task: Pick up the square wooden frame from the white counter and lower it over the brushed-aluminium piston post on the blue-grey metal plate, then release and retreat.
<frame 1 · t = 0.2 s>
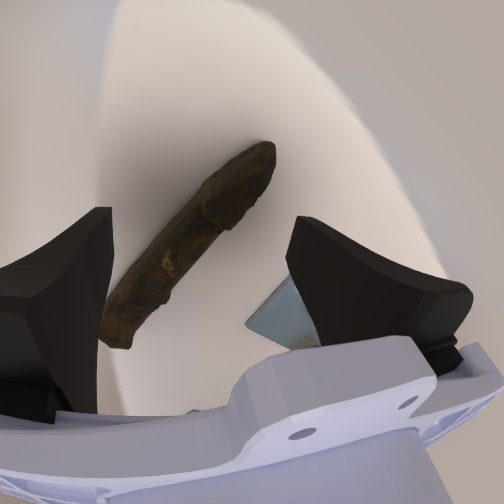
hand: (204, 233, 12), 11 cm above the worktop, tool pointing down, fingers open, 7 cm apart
piston plate: (317, 307, 29), on the worktop
dark brown long piece: (170, 231, 23), on the worktop
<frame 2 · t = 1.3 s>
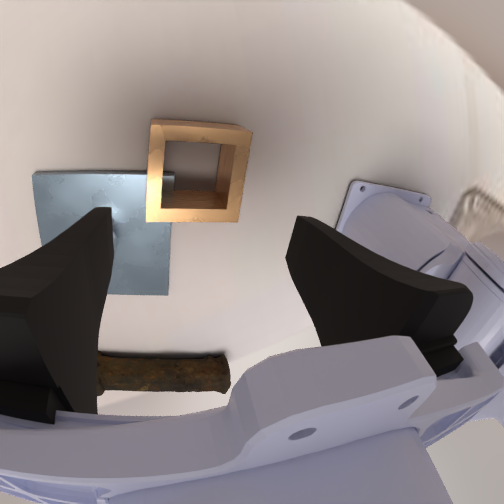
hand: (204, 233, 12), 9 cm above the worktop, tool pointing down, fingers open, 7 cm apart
piston plate: (103, 236, 20), on the worktop
square wooden frame: (189, 162, 19), on the worktop, tilted 6°, touching piston plate
dark brown long piece: (136, 360, 29), on the worktop
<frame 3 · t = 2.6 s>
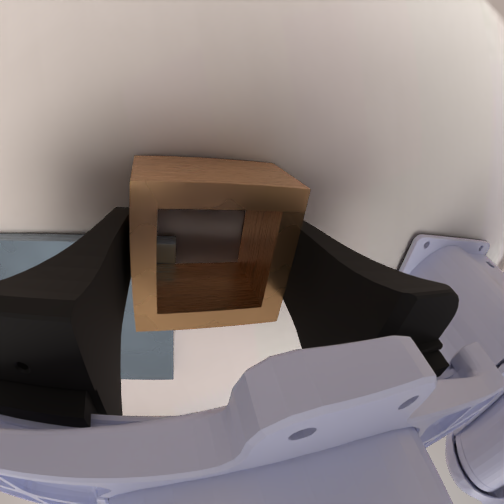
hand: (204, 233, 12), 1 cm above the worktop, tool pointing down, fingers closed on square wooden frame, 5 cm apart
piston plate: (81, 316, 14), on the worktop
square wooden frame: (199, 223, 12), on the worktop, tilted 6°, touching gripper, piston plate
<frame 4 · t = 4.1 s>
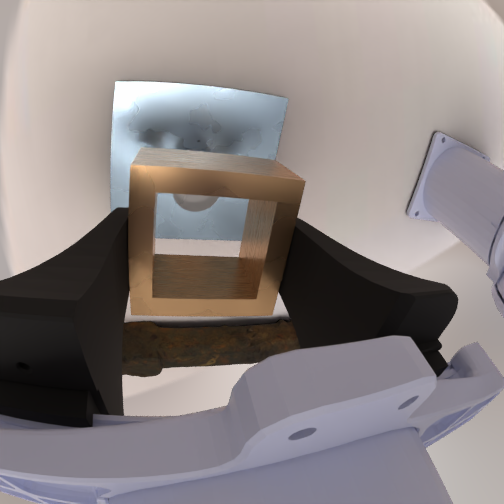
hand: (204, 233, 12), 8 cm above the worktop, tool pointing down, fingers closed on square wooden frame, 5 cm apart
piston plate: (192, 164, 18), on the worktop
square wooden frame: (201, 215, 13), point 7 cm above the worktop, tilted 6°, touching gripper
dark brown long piece: (196, 331, 27), on the worktop
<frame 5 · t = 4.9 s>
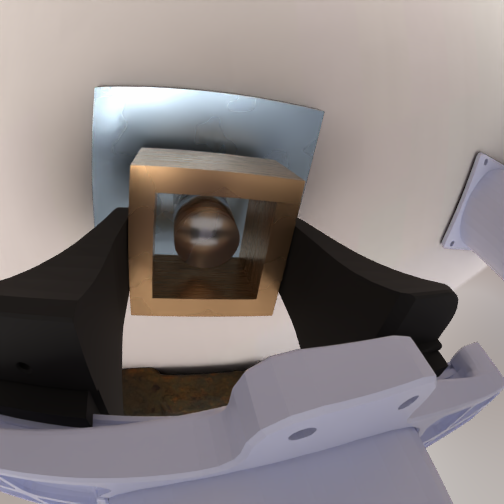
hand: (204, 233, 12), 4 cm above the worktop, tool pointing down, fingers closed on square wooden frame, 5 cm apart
piston plate: (198, 195, 14), on the worktop
square wooden frame: (201, 215, 13), point 2 cm above the worktop, tilted 6°, touching gripper
dark brown long piece: (203, 374, 23), on the worktop
when the fingers open (3 cm above the worktop, at t = 5.6 s): square wooden frame stays where it is, resting on piston plate.
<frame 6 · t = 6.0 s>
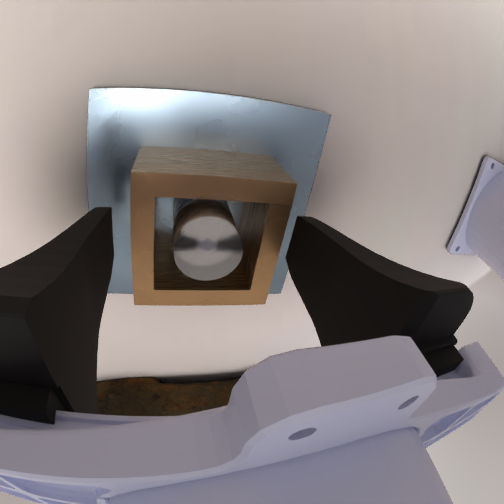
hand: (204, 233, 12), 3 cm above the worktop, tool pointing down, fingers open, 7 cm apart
piston plate: (198, 202, 14), on the worktop
square wooden frame: (199, 208, 13), point 1 cm above the worktop, touching piston plate
dark brown long piece: (204, 382, 23), on the worktop
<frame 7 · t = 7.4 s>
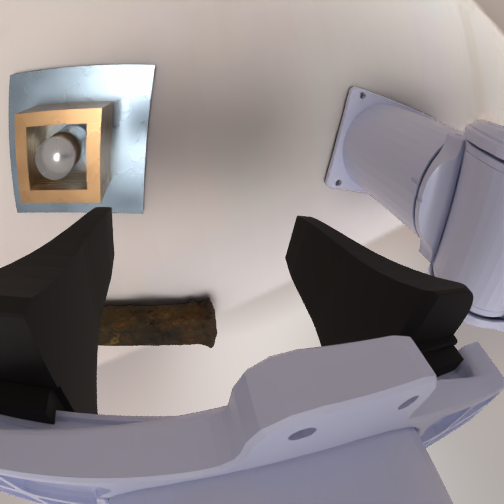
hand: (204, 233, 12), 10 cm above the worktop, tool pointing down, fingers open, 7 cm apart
piston plate: (74, 140, 17), on the worktop
square wooden frame: (72, 143, 16), point 1 cm above the worktop, touching piston plate
dark brown long piece: (110, 311, 26), on the worktop
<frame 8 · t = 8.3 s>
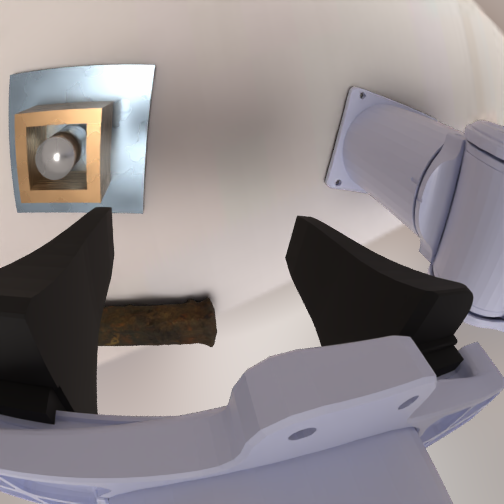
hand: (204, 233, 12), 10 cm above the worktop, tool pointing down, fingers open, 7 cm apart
piston plate: (74, 140, 17), on the worktop
square wooden frame: (72, 143, 16), point 1 cm above the worktop, touching piston plate
dark brown long piece: (110, 312, 26), on the worktop
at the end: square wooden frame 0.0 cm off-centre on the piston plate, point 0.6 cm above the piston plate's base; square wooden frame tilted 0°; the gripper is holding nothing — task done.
